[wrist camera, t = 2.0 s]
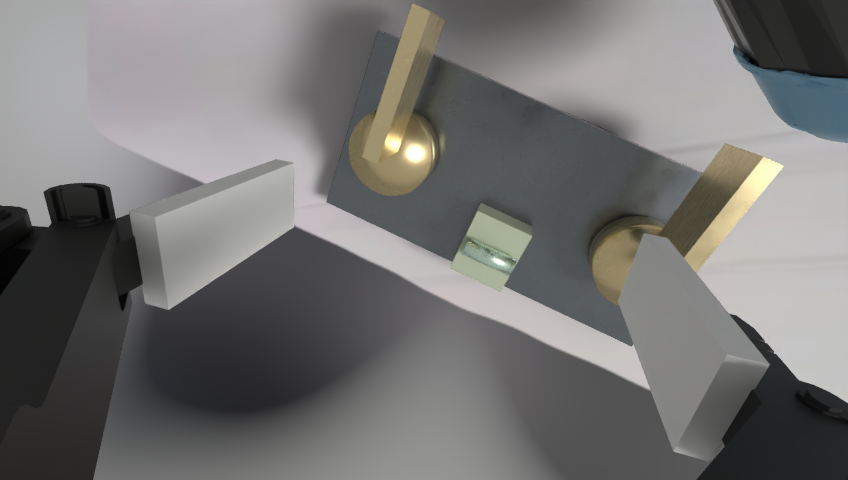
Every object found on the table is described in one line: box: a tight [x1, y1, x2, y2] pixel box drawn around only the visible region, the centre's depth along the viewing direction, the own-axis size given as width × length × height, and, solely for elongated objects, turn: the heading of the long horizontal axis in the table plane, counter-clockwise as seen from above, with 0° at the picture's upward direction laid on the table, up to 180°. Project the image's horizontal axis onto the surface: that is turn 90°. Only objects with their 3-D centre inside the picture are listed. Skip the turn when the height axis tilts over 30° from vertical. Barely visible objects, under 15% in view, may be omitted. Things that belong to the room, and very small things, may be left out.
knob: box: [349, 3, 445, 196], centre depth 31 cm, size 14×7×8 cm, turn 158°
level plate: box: [327, 31, 703, 346], centre depth 35 cm, size 32×16×6 cm, turn 68°
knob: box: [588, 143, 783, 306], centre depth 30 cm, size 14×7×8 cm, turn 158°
